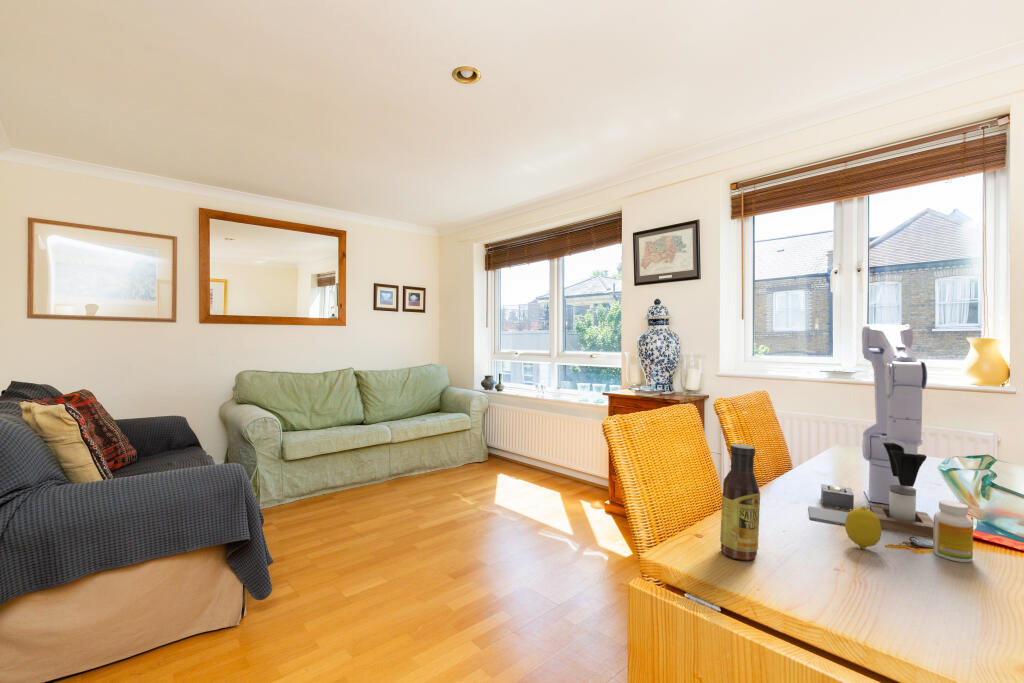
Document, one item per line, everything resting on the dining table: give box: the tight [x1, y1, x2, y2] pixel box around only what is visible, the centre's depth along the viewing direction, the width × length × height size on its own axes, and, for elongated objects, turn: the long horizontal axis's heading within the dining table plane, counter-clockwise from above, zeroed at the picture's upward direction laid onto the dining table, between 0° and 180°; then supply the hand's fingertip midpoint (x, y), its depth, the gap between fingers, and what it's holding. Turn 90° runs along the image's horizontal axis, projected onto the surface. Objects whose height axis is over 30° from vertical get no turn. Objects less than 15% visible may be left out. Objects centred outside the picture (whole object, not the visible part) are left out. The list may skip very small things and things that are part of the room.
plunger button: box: [830, 485, 845, 493], centre depth 115 cm, size 3×3×3 cm
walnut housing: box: [869, 503, 934, 538], centre depth 103 cm, size 10×10×2 cm
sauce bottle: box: [719, 443, 761, 561], centre depth 88 cm, size 7×6×20 cm
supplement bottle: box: [932, 500, 974, 563], centre depth 88 cm, size 5×5×10 cm
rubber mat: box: [808, 505, 849, 526], centre depth 107 cm, size 8×8×1 cm
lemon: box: [844, 505, 882, 550], centre depth 91 cm, size 6×6×8 cm
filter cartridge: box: [888, 485, 917, 522], centre depth 103 cm, size 4×4×8 cm
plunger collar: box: [820, 484, 855, 511], centre depth 115 cm, size 6×6×4 cm
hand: (902, 481), depth 103 cm, fingers open, 7 cm apart
